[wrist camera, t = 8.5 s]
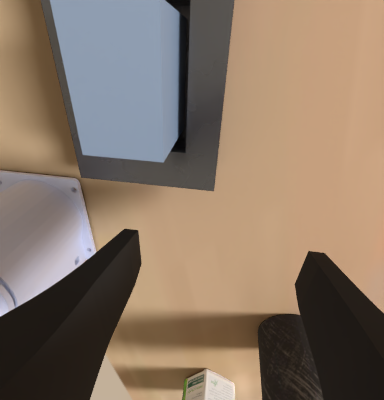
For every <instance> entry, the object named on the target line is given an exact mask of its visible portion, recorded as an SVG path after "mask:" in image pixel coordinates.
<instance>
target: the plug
mask: <svg viewBox="0 0 384 400" xmlns="http://www.w3.org/2000/svg"><path fill="white" fill-rule="evenodd" d="M50 3H51V8H52V13H53V17H54V22H55V27H56V31H57V36H58V41H59V46H60V50H61V55H62V60H63V64H64V69H65V74H66V79H67V83H68V88H69V93H70V97H71V102H72V107H73V112H74V116H75V121H76V126H77V130H78V135H79V140H80V145H81V149H82V154H83V155H89V156H100V157H110V158H121V159H131V160H142V161H153V162H163V163H164V161H165V159H166V158H167V156H168V154H169V153H170V151H171V149H172V148H173V146H174V144H175V143H176V141H177V139H178V138H179V136H180V134H181V133H182V131H183V129H184V108H185V69H186V30H187V18H185V17H184V16H183V15H182V14H181V13H180V12H178V11H177V10H176V9H175V8H174V7H172V6H171V5H170V4H169V3H168V2H166V1H165V0H50Z"/></svg>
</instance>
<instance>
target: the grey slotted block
mask: <svg viewBox="0 0 384 400" xmlns="http://www.w3.org/2000/svg"><path fill="white" fill-rule="evenodd" d="M165 1H166V2H168V3H169V4H170V5H171V6H172V7H174V8H175V9H176V10H177V11H178V12H180V13H181V14H182V15H183V16H184V17H185V18H187V30H186V69H185V108H184V129H183V131H182V133H181V134H180V136H179V138H178V139H177V141H176V143H175V144H174V146H173V148H172V149H171V151H170V153H169V154H168V156H167V158H166V159H165V161H164V163H163V162H153V161H142V160H131V159H121V158H110V157H100V156H89V155H83V154H82V149H81V145H80V140H79V135H78V130H77V126H76V121H75V116H74V112H73V107H72V102H71V97H70V93H69V88H68V83H67V79H66V74H65V69H64V64H63V60H62V55H61V50H60V46H59V41H58V36H57V31H56V27H55V22H54V17H53V13H52V8H51V3H50V0H41V4H42V8H43V13H44V17H45V21H46V26H47V30H48V34H49V39H50V43H51V48H52V52H53V56H54V61H55V65H56V69H57V74H58V78H59V83H60V87H61V91H62V96H63V100H64V105H65V109H66V113H67V118H68V122H69V126H70V131H71V135H72V140H73V144H74V148H75V153H76V157H77V161H78V166H79V170H80V175H81V178H91V179H101V180H110V181H120V182H130V183H139V184H149V185H159V186H168V187H178V188H188V189H198V190H207V191H214V185H215V176H216V167H217V158H218V148H219V139H220V130H221V120H222V111H223V102H224V92H225V83H226V73H227V64H228V55H229V45H230V36H231V27H232V17H233V8H234V0H165Z"/></svg>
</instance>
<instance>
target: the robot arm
mask: <svg viewBox="0 0 384 400" xmlns="http://www.w3.org/2000/svg"><path fill="white" fill-rule="evenodd" d="M73 187H74V188H75V189H76V190H75V189H74V188H73ZM86 259H88V260H86ZM85 260H86V261H85ZM140 267H141V255H140V244H139V234H138V230H130V229H124V230H123V231H121V232H120V233H119V234H118V235H117V236H115V237H114V238H113V239H112V240H111V241H110V242H108V243H107V244H106V245H105V246H104V247H102V248H101V249H100V250H99V251H98V252H96V249H95V245H94V241H93V236H92V232H91V228H90V224H89V219H88V215H87V211H86V207H85V202H84V198H83V194H82V190H81V185H80V182H79V181H78V180H77V179H76V178H70V177H61V176H51V175H41V174H32V173H22V172H12V171H3V170H0V400H90V397H91V394H92V391H93V388H94V385H95V382H96V379H97V376H98V373H99V370H100V367H101V364H102V361H103V359H104V356H105V353H106V350H107V347H108V344H109V342H110V340H111V337H112V335H113V332H114V330H115V328H116V326H117V324H118V321H119V319H120V317H121V315H122V313H123V310H124V308H125V306H126V304H127V301H128V299H129V297H130V295H131V292H132V290H133V288H134V286H135V283H136V280H137V277H138V273H139V270H140ZM295 288H296V295H297V301H298V307H299V311H300V315H301V318H302V321H303V325H304V328H305V332H306V335H307V338H308V342H309V345H310V349H311V352H312V355H313V359H314V362H315V365H316V369H317V373H318V377H319V380H320V385H321V390H322V395H323V400H384V313H383V312H382V311H380V310H379V309H378V308H377V307H376V306H375V305H374V304H373V303H372V302H371V301H370V300H369V299H368V298H367V297H366V296H365V295H364V294H363V293H362V292H361V291H360V290H359V289H358V288H357V287H356V286H355V284H354V283H353V282H352V281H351V280H350V279H349V278H348V277H347V276H346V275H345V274H344V273H343V272H342V271H341V270H340V269H339V268H338V267H337V266H336V265H335V264H334V262H333V261H332V260H331V259H330V258H329V257H328V256H327V255H326V254H325V253H320V252H311V251H309V252H308V254H307V256H306V259H305V261H304V264H303V266H302V268H301V271H300V273H299V276H298V278H297V280H296V283H295Z"/></svg>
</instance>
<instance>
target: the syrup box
mask: <svg viewBox="0 0 384 400" xmlns="http://www.w3.org/2000/svg"><path fill="white" fill-rule="evenodd" d="M182 400H235V385H234V383H233V382H232V381H230V380H228V379H227V378H225V377H223V376H221V375H219V374H217V373H215V372H213V371H211V370H208V369H204V371H202V372H200V373H198V374H195V375H193V376H191V377H189V378H186V379H185V381H184V389H183V397H182Z"/></svg>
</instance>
